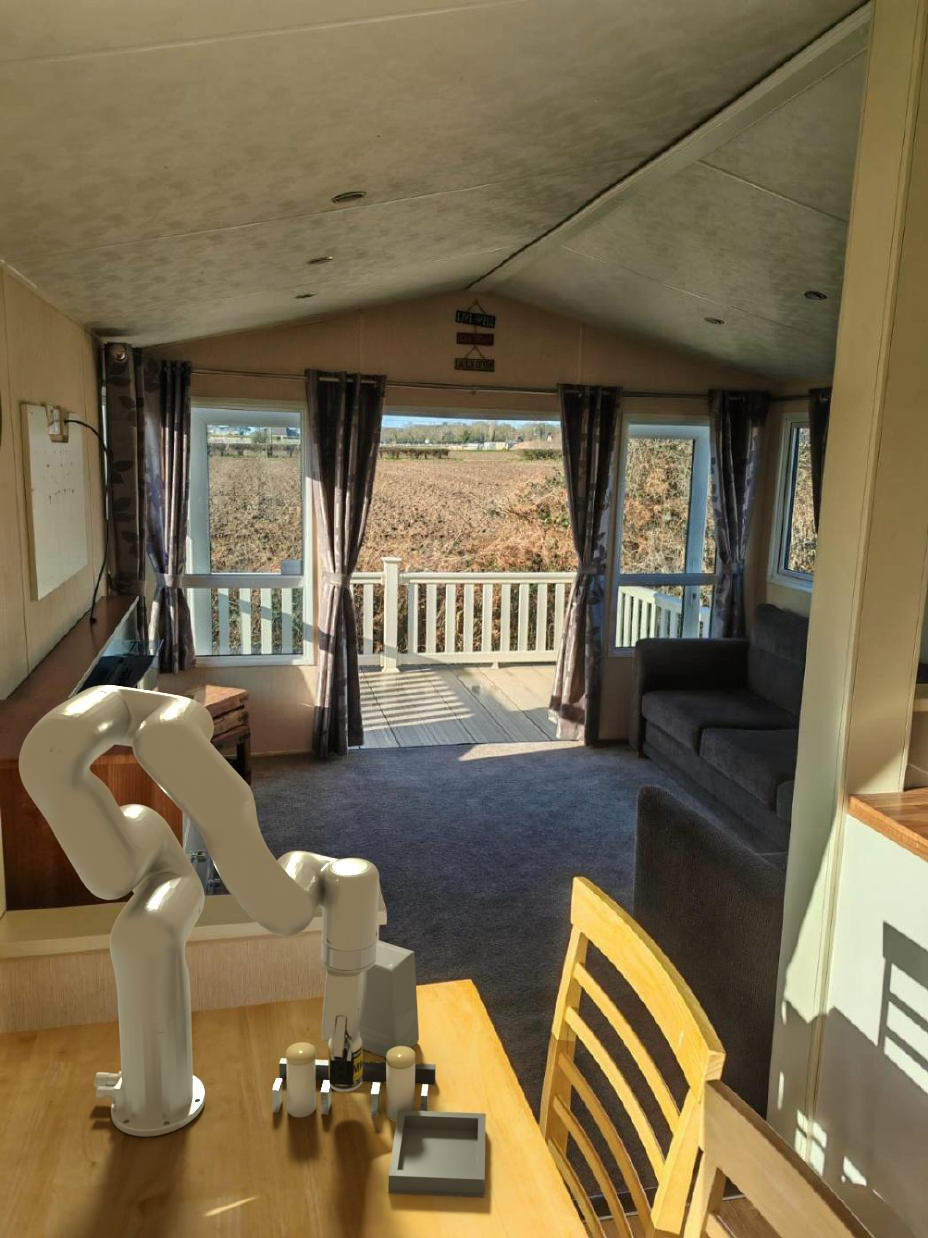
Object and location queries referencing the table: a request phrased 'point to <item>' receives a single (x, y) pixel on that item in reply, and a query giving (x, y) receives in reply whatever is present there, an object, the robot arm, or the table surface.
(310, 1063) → the ball
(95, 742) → the robot arm
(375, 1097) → the clip rail
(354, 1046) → the supplement bottle
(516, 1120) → the table surface
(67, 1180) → the table surface
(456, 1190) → the tray
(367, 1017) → the skincare box
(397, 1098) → the cylinder
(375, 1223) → the table surface
